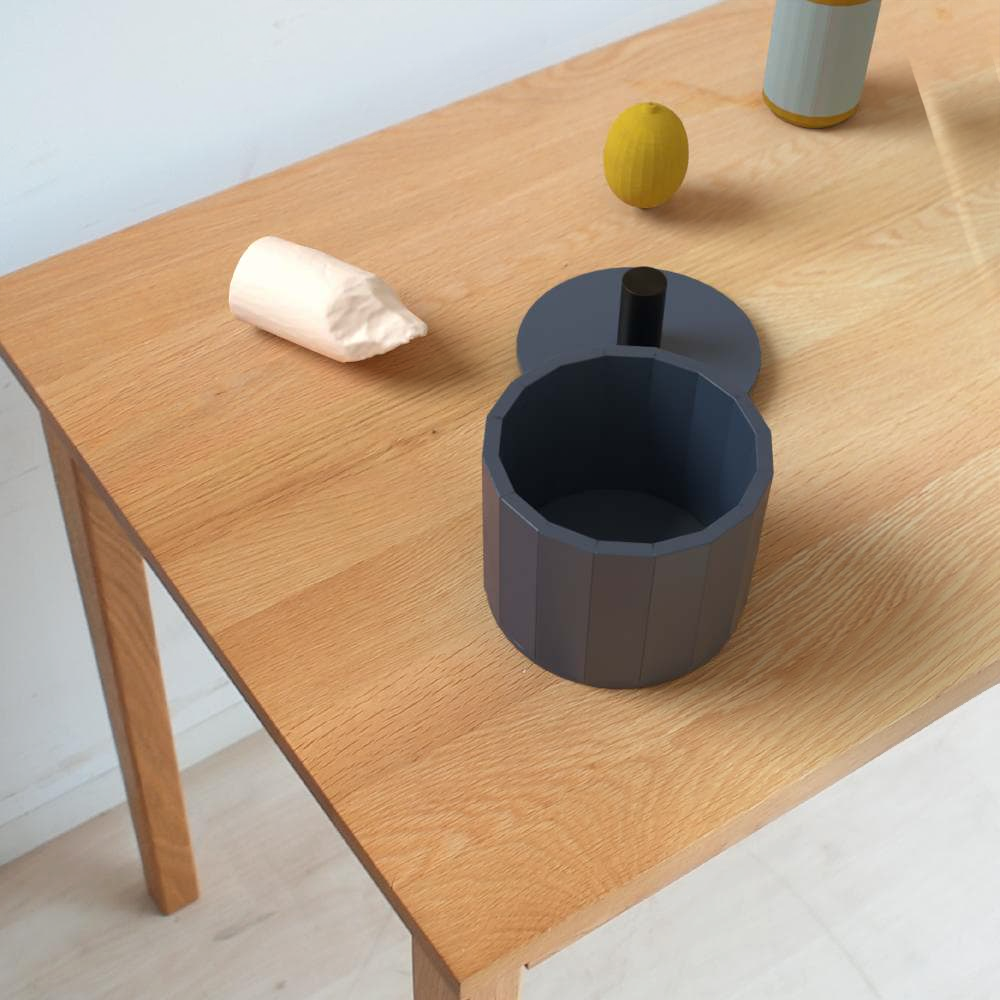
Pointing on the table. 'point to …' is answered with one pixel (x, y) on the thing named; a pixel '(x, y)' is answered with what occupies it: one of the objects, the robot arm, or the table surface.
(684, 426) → the pot
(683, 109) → the table surface
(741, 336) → the pot lid
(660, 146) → the lemon
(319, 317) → the broken white chalk
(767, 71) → the bottle
